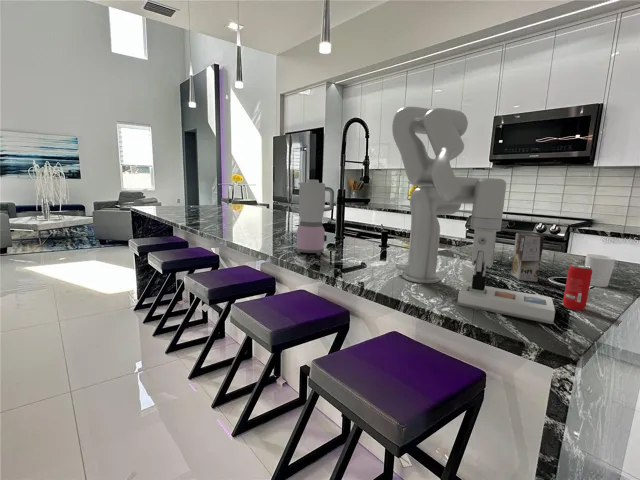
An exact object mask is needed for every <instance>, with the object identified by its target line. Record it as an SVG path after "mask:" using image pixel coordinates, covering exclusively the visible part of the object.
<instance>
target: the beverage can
mask: <svg viewBox="0 0 640 480" xmlns="http://www.w3.org/2000/svg"><path fill="white" fill-rule="evenodd" d="M591 276H592V267H590V266H586V265H585V264H580V263H577V264H576V263H570V265H569V267H568V271H567V276H566V281H565V283H566V284H565V289H564V293H563V294H564V295H563V300H562V303H563V307H565V308H566V309H569V310H572V311H577V312H580V311H581V310H582V311H584V310H585V308H586V307H587V303H588V302H587V301H588V297H589V292H590V291H589V290H590V286H591V285H590V282H591ZM582 311H581V312H582Z"/></svg>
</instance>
